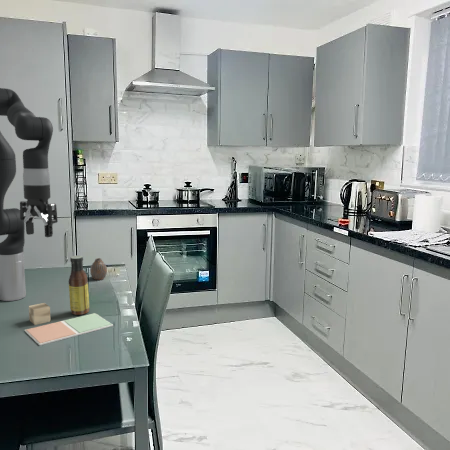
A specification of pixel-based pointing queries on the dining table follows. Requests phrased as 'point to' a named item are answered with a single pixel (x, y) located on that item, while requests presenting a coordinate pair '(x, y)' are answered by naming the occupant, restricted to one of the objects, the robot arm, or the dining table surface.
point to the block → (39, 313)
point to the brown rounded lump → (98, 269)
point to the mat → (67, 328)
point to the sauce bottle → (78, 287)
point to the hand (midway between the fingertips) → (39, 235)
